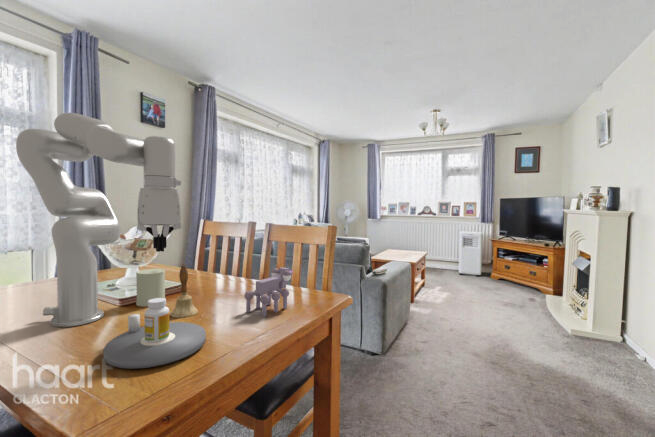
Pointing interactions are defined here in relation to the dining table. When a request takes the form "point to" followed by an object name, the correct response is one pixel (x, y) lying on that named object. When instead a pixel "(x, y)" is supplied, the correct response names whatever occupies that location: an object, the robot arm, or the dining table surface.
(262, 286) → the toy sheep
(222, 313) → the dining table surface
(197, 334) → the turntable
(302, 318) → the dining table surface
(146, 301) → the can
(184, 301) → the hand bell
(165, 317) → the supplement bottle
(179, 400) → the dining table surface
